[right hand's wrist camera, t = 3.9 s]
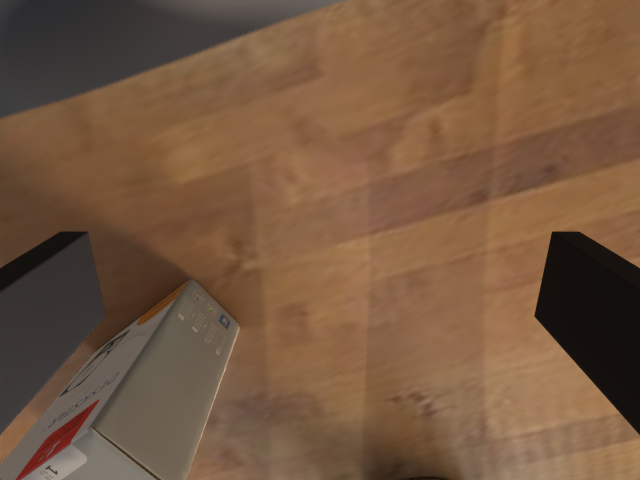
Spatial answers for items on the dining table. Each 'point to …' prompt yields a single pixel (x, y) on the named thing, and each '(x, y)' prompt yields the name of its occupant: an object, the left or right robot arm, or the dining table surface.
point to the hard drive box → (135, 399)
